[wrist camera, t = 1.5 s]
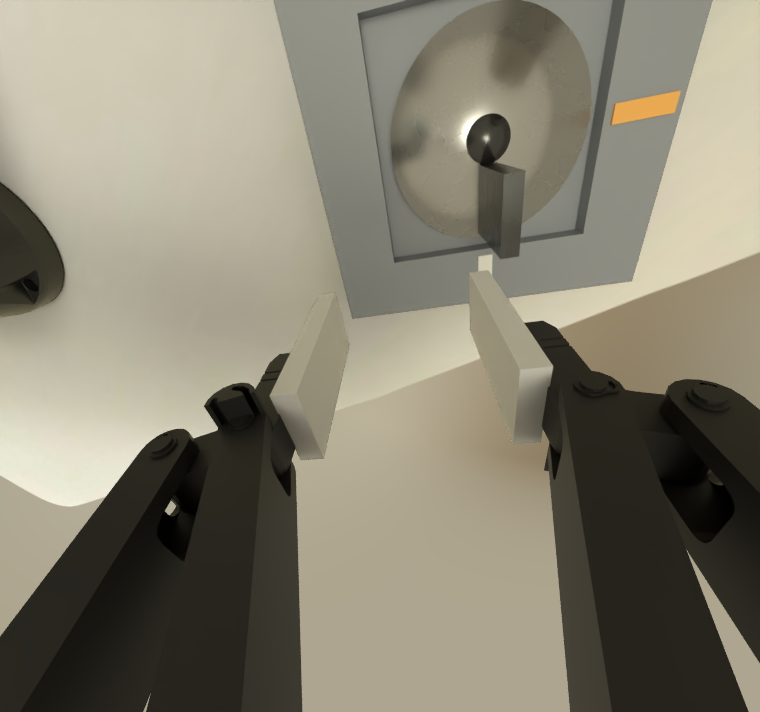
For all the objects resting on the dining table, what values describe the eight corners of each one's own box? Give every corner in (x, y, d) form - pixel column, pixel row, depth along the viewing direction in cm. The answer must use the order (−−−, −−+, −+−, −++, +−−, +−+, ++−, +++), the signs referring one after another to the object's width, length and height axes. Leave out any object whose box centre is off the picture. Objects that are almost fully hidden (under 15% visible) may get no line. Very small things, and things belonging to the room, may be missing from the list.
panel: (355, 305, 35) (352, 319, 32) (268, -64, 20) (249, -93, 18) (613, 269, 31) (633, 282, 29) (730, -205, 17) (792, -268, 14)
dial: (403, 245, 29) (405, 280, 22) (376, 36, 21) (367, -10, 15) (565, 219, 27) (622, 248, 20) (601, -20, 20) (711, -104, 13)
